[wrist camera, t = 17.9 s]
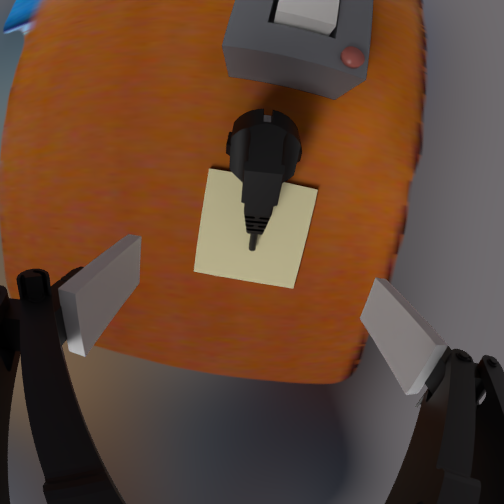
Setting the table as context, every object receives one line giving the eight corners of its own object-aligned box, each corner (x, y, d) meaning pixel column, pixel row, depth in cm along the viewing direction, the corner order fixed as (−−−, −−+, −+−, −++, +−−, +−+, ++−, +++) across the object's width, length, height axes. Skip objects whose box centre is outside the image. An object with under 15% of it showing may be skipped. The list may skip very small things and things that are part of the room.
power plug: (220, 252, 25) (222, 136, 16) (228, 196, 30) (234, 93, 20) (282, 257, 26) (314, 146, 16) (280, 201, 30) (301, 100, 20)
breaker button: (279, -1, 15) (285, -26, 11) (327, 11, 15) (340, -12, 12) (271, 34, 16) (276, 10, 12) (321, 46, 17) (336, 25, 13)
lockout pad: (209, 168, 24) (209, 168, 24) (316, 189, 25) (317, 189, 25) (194, 269, 27) (193, 271, 27) (292, 286, 28) (293, 288, 28)
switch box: (249, -2, 18) (251, -48, 11) (346, 20, 19) (376, -16, 11) (228, 76, 21) (221, 42, 14) (334, 99, 22) (369, 77, 15)
